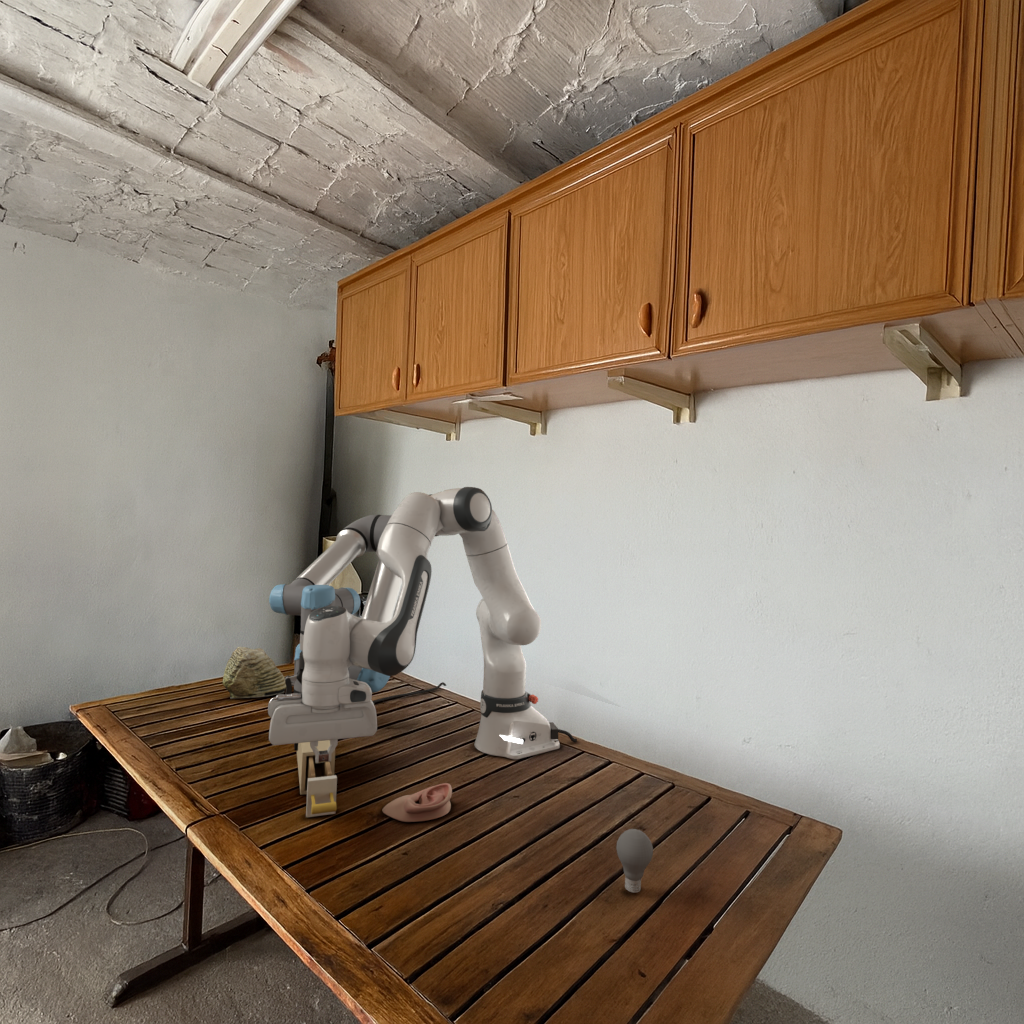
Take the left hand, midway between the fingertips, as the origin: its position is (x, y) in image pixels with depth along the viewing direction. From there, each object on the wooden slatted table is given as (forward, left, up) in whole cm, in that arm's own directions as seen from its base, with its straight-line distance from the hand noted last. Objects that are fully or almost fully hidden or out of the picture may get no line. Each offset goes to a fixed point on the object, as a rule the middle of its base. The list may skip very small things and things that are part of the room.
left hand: (312, 746), depth 151 cm
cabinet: (+3, +5, -3) cm, 6 cm away
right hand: (+15, +25, +8) cm, 30 cm away
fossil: (-16, -55, -4) cm, 58 cm away
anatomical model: (-1, +35, -4) cm, 35 cm away
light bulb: (-7, +81, -4) cm, 82 cm away
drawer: (+10, +17, -3) cm, 20 cm away
